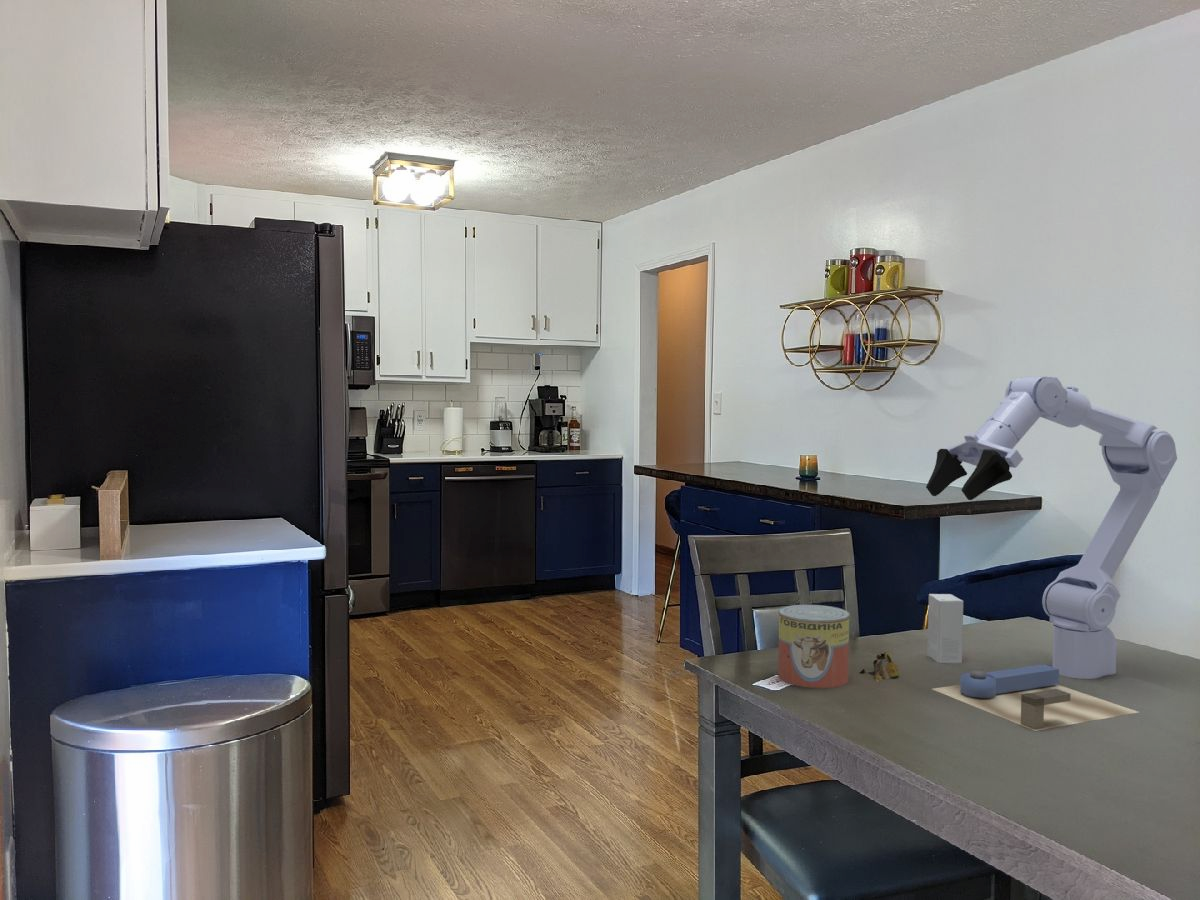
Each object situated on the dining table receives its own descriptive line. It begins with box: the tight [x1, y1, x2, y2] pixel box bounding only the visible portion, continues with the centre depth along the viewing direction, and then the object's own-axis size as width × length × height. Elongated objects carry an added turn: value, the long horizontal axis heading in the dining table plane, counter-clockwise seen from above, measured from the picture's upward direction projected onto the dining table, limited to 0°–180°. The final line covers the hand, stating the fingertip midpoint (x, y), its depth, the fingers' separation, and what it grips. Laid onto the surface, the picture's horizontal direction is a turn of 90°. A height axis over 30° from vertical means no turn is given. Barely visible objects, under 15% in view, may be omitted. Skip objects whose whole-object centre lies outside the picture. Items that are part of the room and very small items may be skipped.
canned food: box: [777, 604, 851, 689], centre depth 150 cm, size 11×11×12 cm
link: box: [959, 664, 1060, 698], centre depth 144 cm, size 18×5×3 cm, turn 112°
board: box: [931, 684, 1140, 732], centre depth 139 cm, size 20×20×1 cm
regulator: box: [859, 651, 900, 683], centre depth 151 cm, size 8×4×15 cm
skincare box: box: [926, 593, 964, 664], centre depth 162 cm, size 6×4×12 cm
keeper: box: [1020, 689, 1071, 731], centre depth 129 cm, size 6×2×5 cm, turn 112°
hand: (947, 493), depth 142 cm, fingers open, 7 cm apart
